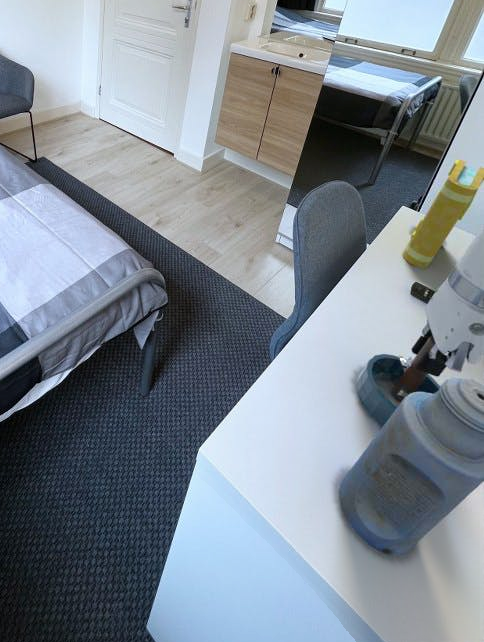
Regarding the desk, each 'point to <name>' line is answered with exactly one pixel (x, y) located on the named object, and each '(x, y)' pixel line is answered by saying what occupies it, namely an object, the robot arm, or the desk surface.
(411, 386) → the brown wooden dowel
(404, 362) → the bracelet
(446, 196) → the yellow toy tower
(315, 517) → the desk surface
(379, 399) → the bowl
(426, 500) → the bottle
